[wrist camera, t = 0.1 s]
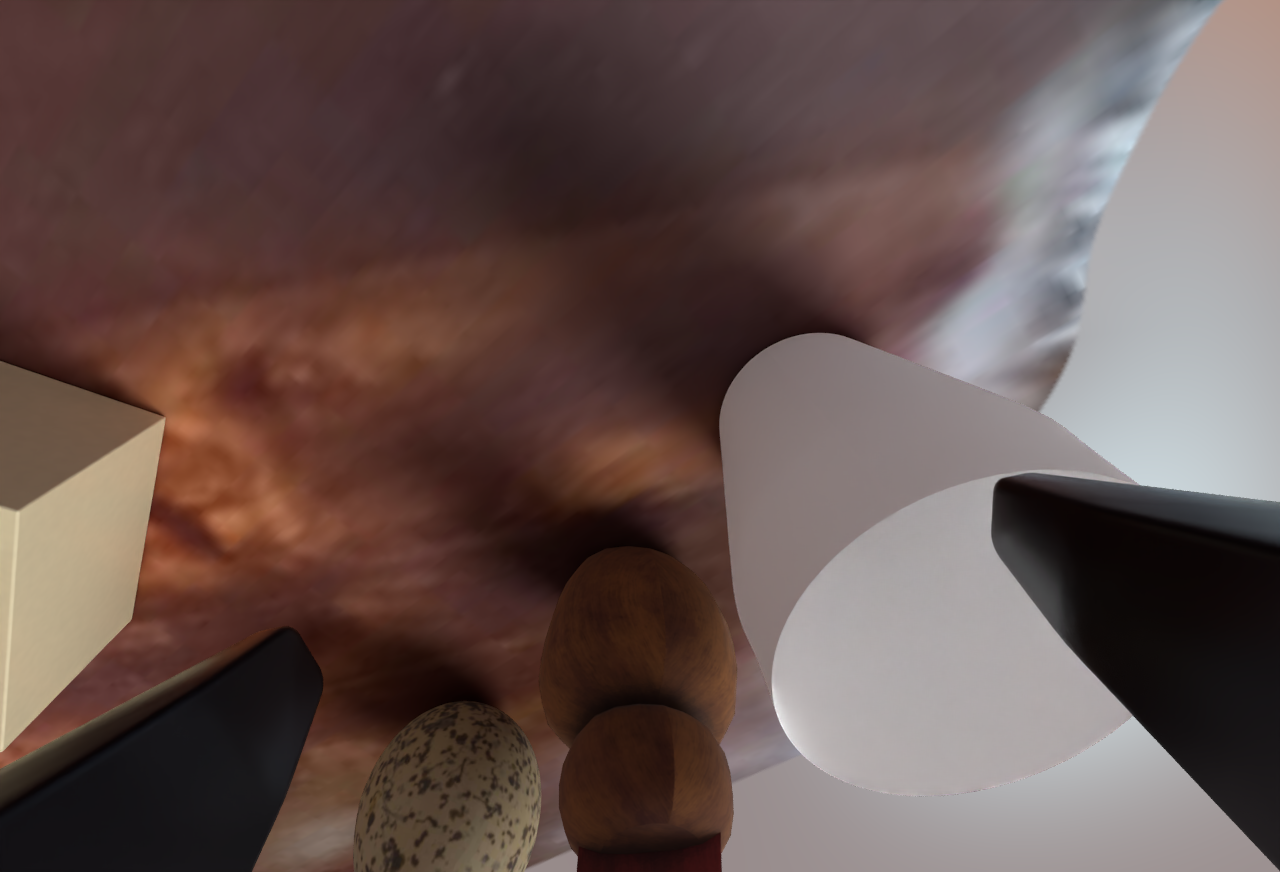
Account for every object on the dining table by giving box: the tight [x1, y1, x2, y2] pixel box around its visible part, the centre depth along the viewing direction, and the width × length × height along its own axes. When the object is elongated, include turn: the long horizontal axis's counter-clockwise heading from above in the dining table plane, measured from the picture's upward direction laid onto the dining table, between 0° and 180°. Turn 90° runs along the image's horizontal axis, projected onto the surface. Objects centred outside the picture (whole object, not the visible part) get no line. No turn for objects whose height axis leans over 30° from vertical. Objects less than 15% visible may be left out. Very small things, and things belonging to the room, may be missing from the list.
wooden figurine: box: [539, 546, 737, 872], centre depth 19 cm, size 7×6×15 cm
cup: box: [719, 333, 1139, 796], centre depth 18 cm, size 9×9×12 cm
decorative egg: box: [353, 701, 541, 872], centre depth 25 cm, size 7×7×10 cm
